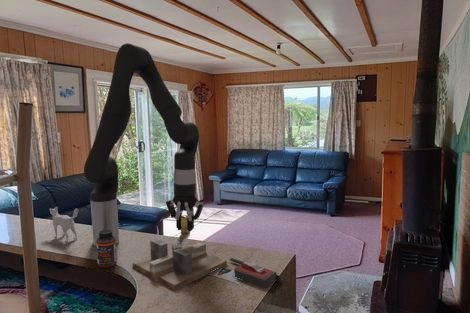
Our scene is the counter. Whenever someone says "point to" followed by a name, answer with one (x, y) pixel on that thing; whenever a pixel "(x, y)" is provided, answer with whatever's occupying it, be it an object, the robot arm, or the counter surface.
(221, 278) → the counter surface
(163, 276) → the lock base
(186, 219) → the swing bar
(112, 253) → the supplement bottle
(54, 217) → the cat figurine
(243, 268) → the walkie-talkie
